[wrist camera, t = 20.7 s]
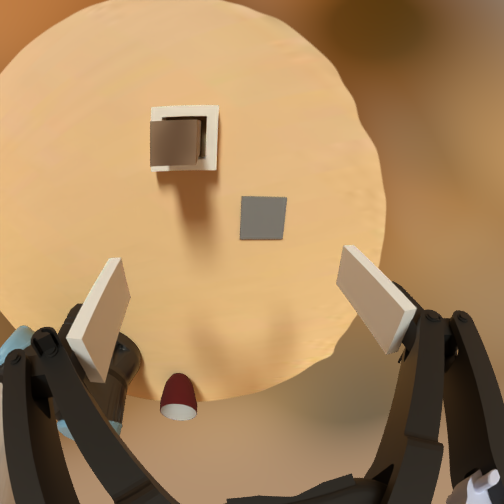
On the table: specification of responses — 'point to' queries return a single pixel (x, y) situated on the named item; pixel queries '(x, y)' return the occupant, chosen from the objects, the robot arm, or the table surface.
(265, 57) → the table surface
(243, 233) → the mat
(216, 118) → the socket block
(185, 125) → the peg
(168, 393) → the mug
